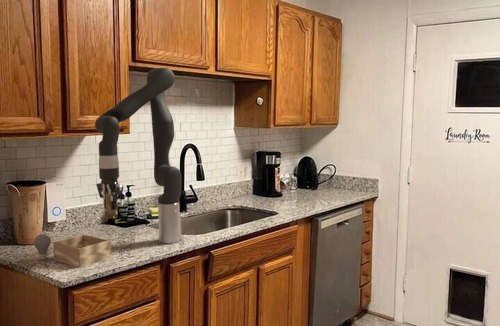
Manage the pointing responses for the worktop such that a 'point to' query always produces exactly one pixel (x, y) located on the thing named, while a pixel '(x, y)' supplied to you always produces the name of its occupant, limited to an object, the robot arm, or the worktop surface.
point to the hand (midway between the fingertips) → (110, 209)
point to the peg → (109, 205)
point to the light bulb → (42, 245)
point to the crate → (81, 250)
